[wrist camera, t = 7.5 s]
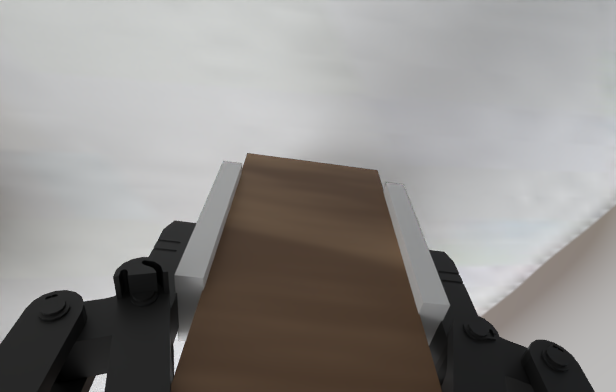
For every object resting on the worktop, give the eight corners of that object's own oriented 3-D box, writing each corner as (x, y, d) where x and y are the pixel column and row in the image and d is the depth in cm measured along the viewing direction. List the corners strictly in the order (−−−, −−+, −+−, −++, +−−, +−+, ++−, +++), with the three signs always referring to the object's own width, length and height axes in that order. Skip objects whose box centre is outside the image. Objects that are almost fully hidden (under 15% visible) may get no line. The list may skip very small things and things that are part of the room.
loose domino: (368, 202, 19) (432, 495, 9) (245, 186, 18) (161, 475, 8) (377, 170, 18) (461, 457, 8) (247, 152, 17) (155, 431, 7)
